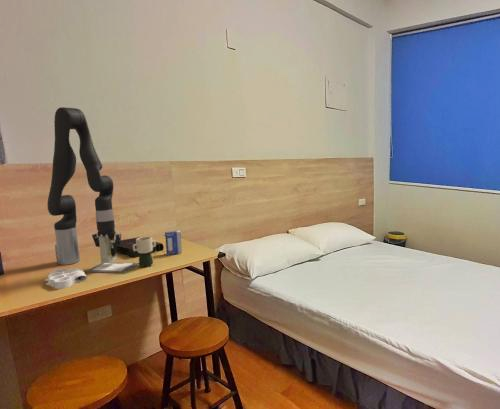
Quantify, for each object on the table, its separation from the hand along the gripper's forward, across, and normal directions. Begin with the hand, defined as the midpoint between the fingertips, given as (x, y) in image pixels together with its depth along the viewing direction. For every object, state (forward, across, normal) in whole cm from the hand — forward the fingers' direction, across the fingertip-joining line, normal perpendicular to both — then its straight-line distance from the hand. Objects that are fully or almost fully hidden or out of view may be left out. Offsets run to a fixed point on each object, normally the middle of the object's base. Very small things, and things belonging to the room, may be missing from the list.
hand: (108, 255), depth 151 cm
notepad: (+5, +3, -1) cm, 6 cm away
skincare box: (+3, 0, 0) cm, 3 cm away
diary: (+6, -2, +27) cm, 28 cm away
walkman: (+6, +23, +22) cm, 32 cm away
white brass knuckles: (+6, -9, -18) cm, 21 cm away
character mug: (+6, +17, +3) cm, 18 cm away
